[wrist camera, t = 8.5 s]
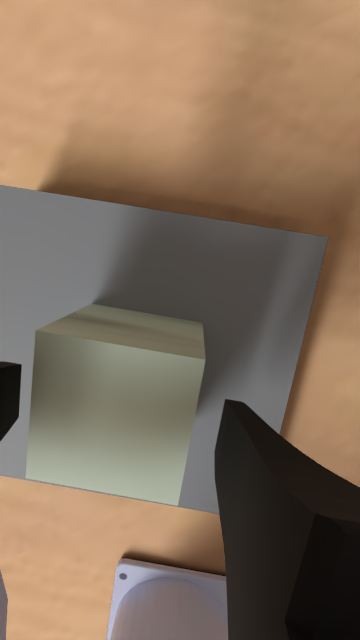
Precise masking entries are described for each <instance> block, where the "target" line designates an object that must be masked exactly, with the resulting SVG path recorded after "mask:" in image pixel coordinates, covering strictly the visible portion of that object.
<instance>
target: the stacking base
mask: <svg viewBox="0 0 360 640" xmlns="http://www.w3.org/2000/svg"><path fill="white" fill-rule="evenodd" d="M328 238H329V237H325V236H319V235H312V234H306V233H300V232H294V231H287V230H281V229H275V228H268V227H262V226H256V225H249V224H243V223H237V222H231V221H224V220H218V219H212V218H205V217H199V216H193V215H186V214H180V213H174V212H168V211H161V210H155V209H149V208H142V207H136V206H130V205H123V204H117V203H111V202H105V201H98V200H92V199H86V198H79V197H73V196H67V195H60V194H54V193H48V192H42V191H35V190H29V189H23V188H16V187H10V186H4V185H0V362H3V361H5V362H11V363H17V364H22V370H21V388H20V406H19V418H18V419H17V421H16V422H15V423H14V425H13V426H12V427H11V429H10V430H9V431H8V433H7V434H6V435H5V436H4V438H3V439H2V440H1V441H0V476H6V477H12V478H17V479H23V480H29V481H34V482H40V483H46V484H51V485H57V486H63V487H68V488H74V489H80V490H85V491H91V492H97V493H102V494H108V495H114V496H119V497H125V498H131V497H126V496H120V495H115V494H109V493H104V492H98V491H93V490H87V489H82V488H76V487H71V486H65V485H60V484H54V483H49V482H43V481H38V480H32V479H27V478H26V464H27V449H28V434H29V419H30V404H31V389H32V375H33V360H34V345H35V330H37V329H39V328H42V327H44V326H46V325H48V324H50V323H52V322H54V321H56V320H58V319H60V318H62V317H65V316H67V315H69V314H71V313H73V312H75V311H77V310H79V309H81V308H83V307H86V306H88V305H90V304H97V305H103V306H108V307H114V308H120V309H126V310H132V311H138V312H143V313H149V314H155V315H161V316H167V317H173V318H179V319H184V320H190V321H196V322H202V323H203V334H204V346H205V358H206V361H205V366H204V371H203V376H202V382H201V387H200V392H199V397H198V403H197V408H196V413H195V418H194V424H193V429H192V434H191V439H190V445H189V450H188V455H187V460H186V466H185V471H184V476H183V481H182V487H181V492H180V497H179V502H178V506H176V507H182V508H187V509H193V510H199V511H204V512H210V513H216V514H220V513H219V506H218V499H217V492H216V484H215V468H214V451H215V446H216V441H217V436H218V431H219V426H220V421H221V416H222V411H223V407H224V402H225V399H229V400H235V401H241V402H244V403H245V404H246V405H248V406H249V407H250V408H251V409H252V410H253V411H254V412H255V413H256V414H257V415H258V416H259V417H260V418H262V419H263V420H264V421H265V422H266V423H267V424H268V425H269V426H270V427H271V428H272V429H274V430H275V431H276V432H277V433H278V434H280V430H281V426H282V422H283V418H284V414H285V410H286V406H287V402H288V398H289V394H290V390H291V386H292V382H293V378H294V374H295V370H296V366H297V362H298V358H299V354H300V350H301V346H302V342H303V338H304V334H305V330H306V326H307V322H308V318H309V314H310V310H311V306H312V302H313V298H314V294H315V290H316V286H317V282H318V278H319V274H320V270H321V266H322V262H323V258H324V254H325V250H326V246H327V242H328ZM131 499H136V500H142V499H137V498H131ZM142 501H148V500H142ZM148 502H153V501H148ZM153 503H159V502H153ZM159 504H164V503H159ZM165 505H170V504H165ZM170 506H175V505H170Z"/></svg>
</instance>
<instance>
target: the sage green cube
mask: <svg viewBox="0 0 360 640" xmlns="http://www.w3.org/2000/svg"><path fill="white" fill-rule="evenodd" d="M205 361H206V358H205V346H204V334H203V323H202V322H196V321H190V320H184V319H179V318H173V317H167V316H161V315H155V314H149V313H143V312H138V311H132V310H126V309H120V308H114V307H108V306H103V305H97V304H90V305H88V306H86V307H83V308H81V309H79V310H77V311H75V312H73V313H71V314H69V315H67V316H65V317H62V318H60V319H58V320H56V321H54V322H52V323H50V324H48V325H46V326H44V327H42V328H39V329H37V330H35V345H34V360H33V375H32V389H31V404H30V419H29V434H28V449H27V464H26V478H27V479H32V480H38V481H43V482H49V483H54V484H60V485H65V486H71V487H76V488H82V489H87V490H93V491H98V492H104V493H109V494H115V495H120V496H126V497H131V498H137V499H142V500H148V501H153V502H159V503H164V504H170V505H175V506H178V502H179V497H180V492H181V487H182V481H183V476H184V471H185V466H186V460H187V455H188V450H189V445H190V439H191V434H192V429H193V424H194V418H195V413H196V408H197V403H198V397H199V392H200V387H201V382H202V376H203V371H204V366H205Z"/></svg>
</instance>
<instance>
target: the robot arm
mask: <svg viewBox="0 0 360 640" xmlns="http://www.w3.org/2000/svg"><path fill="white" fill-rule="evenodd" d="M21 370H22V364H17V363H11V362H5V361H3V362H0V441H1V440H2V439H3V438H4V436H5V435H6V434H7V433H8V431H9V430H10V429H11V427H12V426H13V425H14V423H15V422H16V421H17V419H18V418H19V406H20V388H21ZM214 468H215V484H216V492H217V499H218V506H219V513H220V521H221V528H222V535H223V542H224V552H225V565H226V576H221V575H215V574H210V573H204V572H199V571H193V570H188V569H182V568H176V567H171V566H165V565H160V564H154V563H149V562H143V561H138V560H132V559H126V558H123V559H120V560H119V561H118V564H117V568H116V575H115V582H114V589H113V596H112V603H111V610H110V617H109V624H108V631H107V639H106V640H360V487H358V486H356V485H354V484H352V483H350V482H349V481H347V480H345V479H343V478H342V477H340V476H338V475H336V474H334V473H333V472H331V471H329V470H328V469H326V468H324V467H323V466H321V465H320V464H318V463H317V462H315V461H314V460H312V459H311V458H309V457H308V456H306V455H305V454H304V453H302V452H301V451H299V450H298V449H297V448H295V447H294V446H293V445H292V444H290V443H289V442H288V441H287V440H285V439H284V438H283V437H282V436H281V435H279V434H278V433H277V432H276V431H275V430H274V429H272V428H271V427H270V426H269V425H268V424H267V423H266V422H265V421H264V420H263V419H262V418H260V417H259V416H258V415H257V414H256V413H255V412H254V411H253V410H252V409H251V408H250V407H249V406H248V405H246V404H245V403H244V402H241V401H235V400H229V399H225V402H224V407H223V411H222V416H221V421H220V426H219V431H218V436H217V441H216V446H215V451H214ZM124 573H125V574H124ZM7 603H8V598H7V594H6V590H5V587H4V583H3V579H2V575H1V571H0V640H6V621H7Z"/></svg>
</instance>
